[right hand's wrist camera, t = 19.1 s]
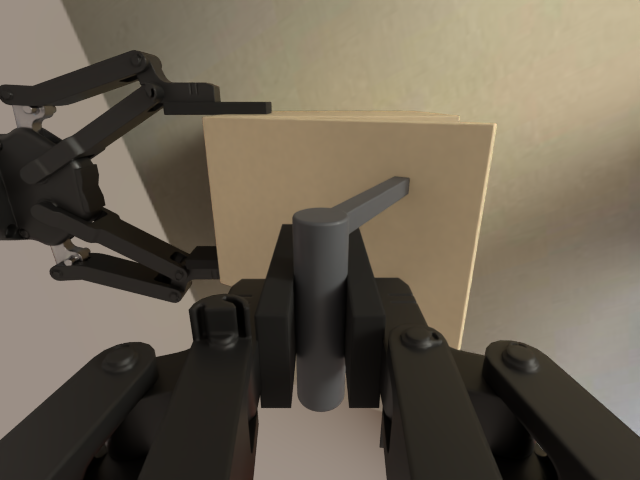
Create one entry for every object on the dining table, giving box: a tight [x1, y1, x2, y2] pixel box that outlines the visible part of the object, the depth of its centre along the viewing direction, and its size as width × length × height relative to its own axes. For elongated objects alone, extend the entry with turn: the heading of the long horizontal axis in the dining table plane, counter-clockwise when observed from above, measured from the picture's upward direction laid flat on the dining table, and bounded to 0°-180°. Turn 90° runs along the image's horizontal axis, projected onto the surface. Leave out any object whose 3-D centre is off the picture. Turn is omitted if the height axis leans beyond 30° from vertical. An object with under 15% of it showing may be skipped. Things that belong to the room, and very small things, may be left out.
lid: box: [202, 116, 497, 412], centre depth 15 cm, size 15×10×8 cm
